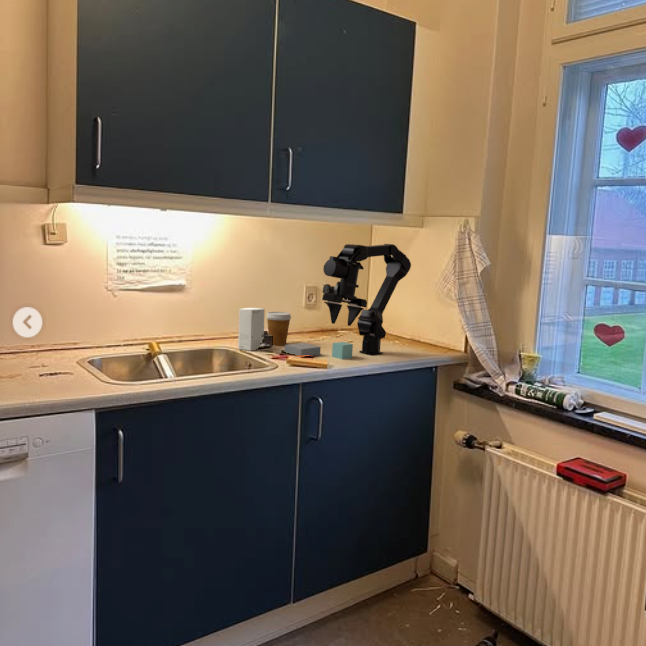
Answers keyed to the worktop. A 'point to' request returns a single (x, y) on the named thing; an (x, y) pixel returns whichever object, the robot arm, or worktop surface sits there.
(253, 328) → the skincare box
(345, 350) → the teal cube
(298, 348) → the block
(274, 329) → the disposable coffee cup
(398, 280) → the robot arm
